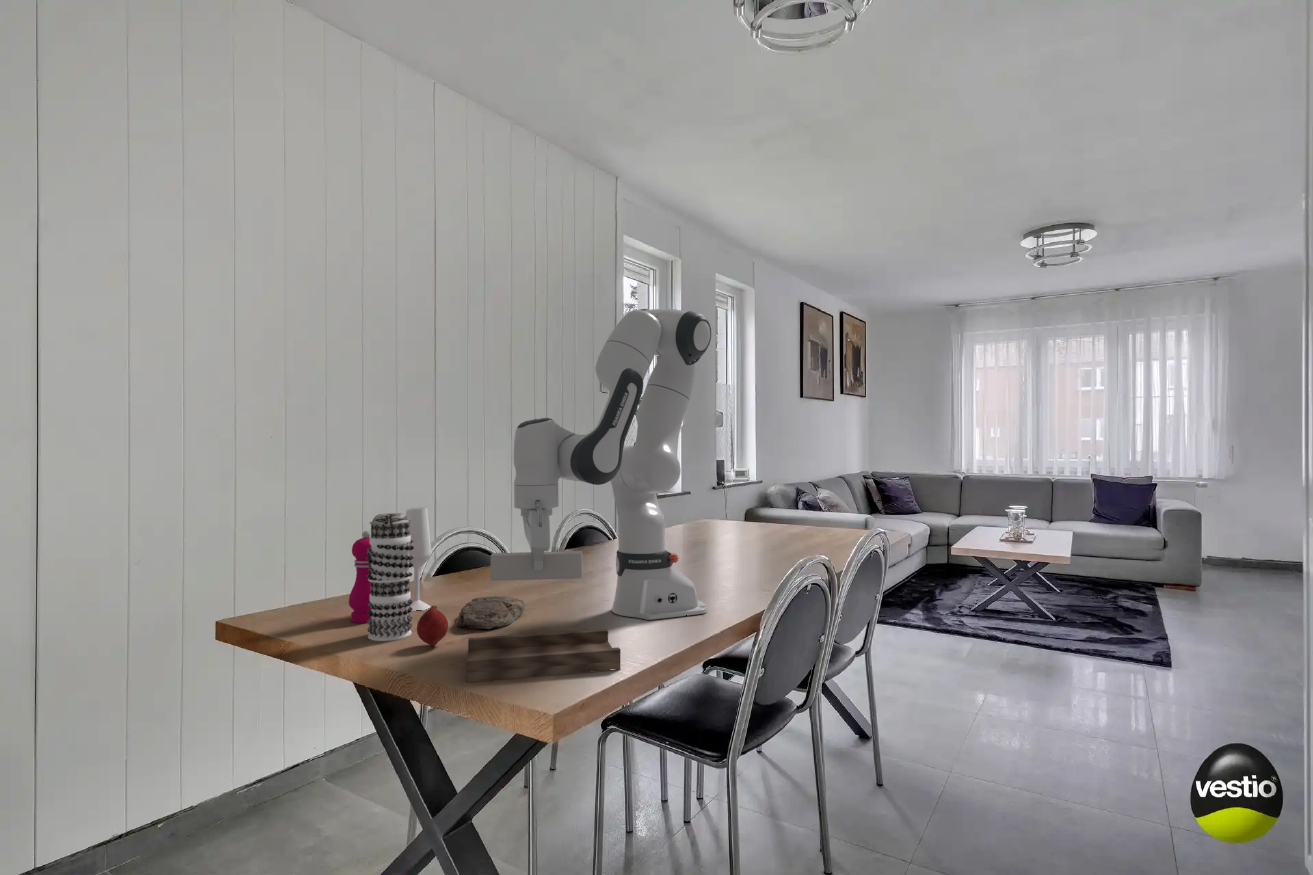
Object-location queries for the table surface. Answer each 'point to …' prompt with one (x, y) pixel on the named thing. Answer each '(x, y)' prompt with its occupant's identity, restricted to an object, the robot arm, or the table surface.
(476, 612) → the rough brown rock
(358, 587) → the pepper mill
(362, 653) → the table surface
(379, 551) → the decorative candle
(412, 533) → the champagne flute
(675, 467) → the robot arm
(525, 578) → the clay strip
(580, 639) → the grooved wooden tray
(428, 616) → the onion
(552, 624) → the table surface
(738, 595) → the table surface
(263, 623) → the table surface
